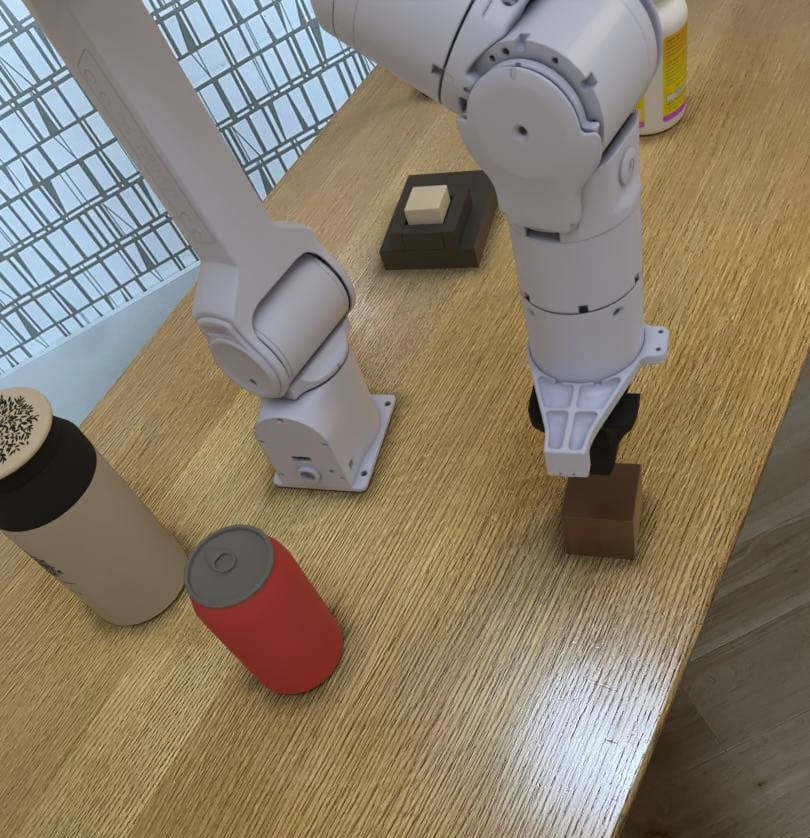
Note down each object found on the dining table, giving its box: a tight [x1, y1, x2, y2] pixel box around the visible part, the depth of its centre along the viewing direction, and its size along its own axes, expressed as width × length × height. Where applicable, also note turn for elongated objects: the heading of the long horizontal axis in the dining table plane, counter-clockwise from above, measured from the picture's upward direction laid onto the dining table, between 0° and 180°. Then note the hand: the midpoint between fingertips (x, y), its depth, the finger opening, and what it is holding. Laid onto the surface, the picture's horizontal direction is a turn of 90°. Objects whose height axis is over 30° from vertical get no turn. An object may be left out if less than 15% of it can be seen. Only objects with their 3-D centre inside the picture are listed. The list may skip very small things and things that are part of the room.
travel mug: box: [0, 386, 188, 626], centre depth 57 cm, size 8×8×18 cm
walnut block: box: [560, 462, 644, 560], centre depth 55 cm, size 4×4×4 cm
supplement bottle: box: [631, 0, 689, 136], centre depth 75 cm, size 7×7×13 cm
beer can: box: [183, 523, 344, 695], centre depth 53 cm, size 7×7×12 cm
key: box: [404, 185, 450, 225], centre depth 74 cm, size 3×3×2 cm
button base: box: [378, 169, 498, 271], centre depth 77 cm, size 11×9×4 cm
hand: (597, 452), depth 50 cm, fingers closed
